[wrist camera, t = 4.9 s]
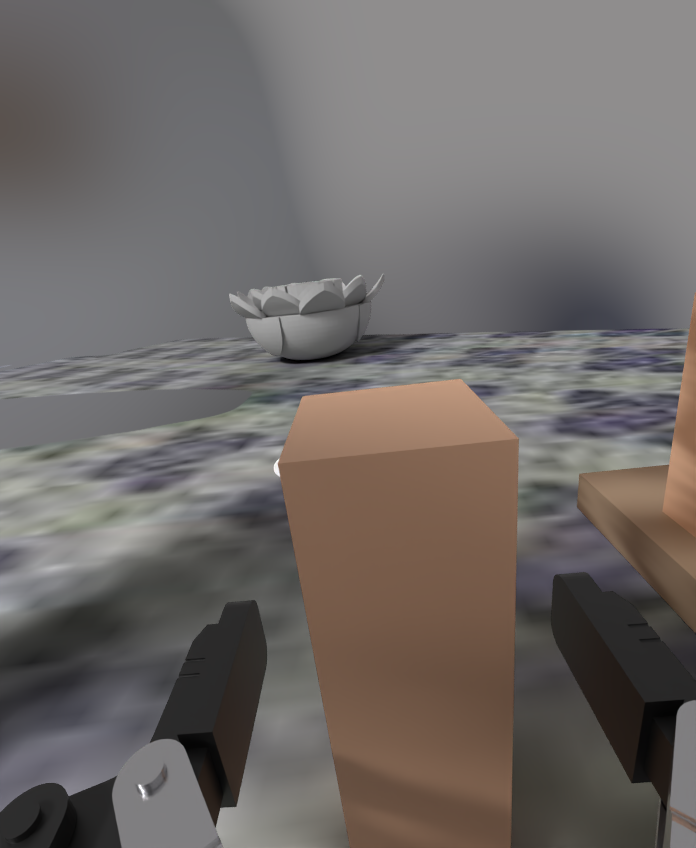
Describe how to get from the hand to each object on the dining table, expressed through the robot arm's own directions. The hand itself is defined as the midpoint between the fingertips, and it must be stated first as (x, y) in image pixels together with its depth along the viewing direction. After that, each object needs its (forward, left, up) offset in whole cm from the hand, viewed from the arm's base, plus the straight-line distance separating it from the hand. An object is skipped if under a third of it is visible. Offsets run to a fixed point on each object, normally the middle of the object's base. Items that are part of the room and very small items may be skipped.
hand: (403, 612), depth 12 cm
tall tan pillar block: (0, -1, -8) cm, 8 cm away
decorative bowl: (-56, +61, -8) cm, 84 cm away
